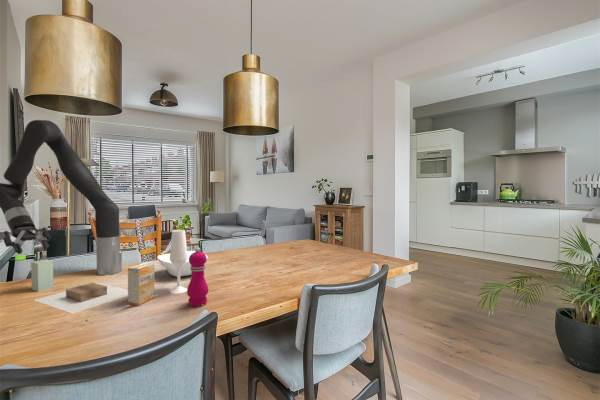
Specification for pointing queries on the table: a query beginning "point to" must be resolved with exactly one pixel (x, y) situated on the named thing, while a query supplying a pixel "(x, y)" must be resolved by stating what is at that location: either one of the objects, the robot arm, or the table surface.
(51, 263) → the sage block
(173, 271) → the bowl
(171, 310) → the table surface
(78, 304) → the grey board
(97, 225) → the robot arm
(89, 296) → the walnut plinth
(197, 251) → the pepper mill
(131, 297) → the supplement box
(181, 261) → the champagne flute
